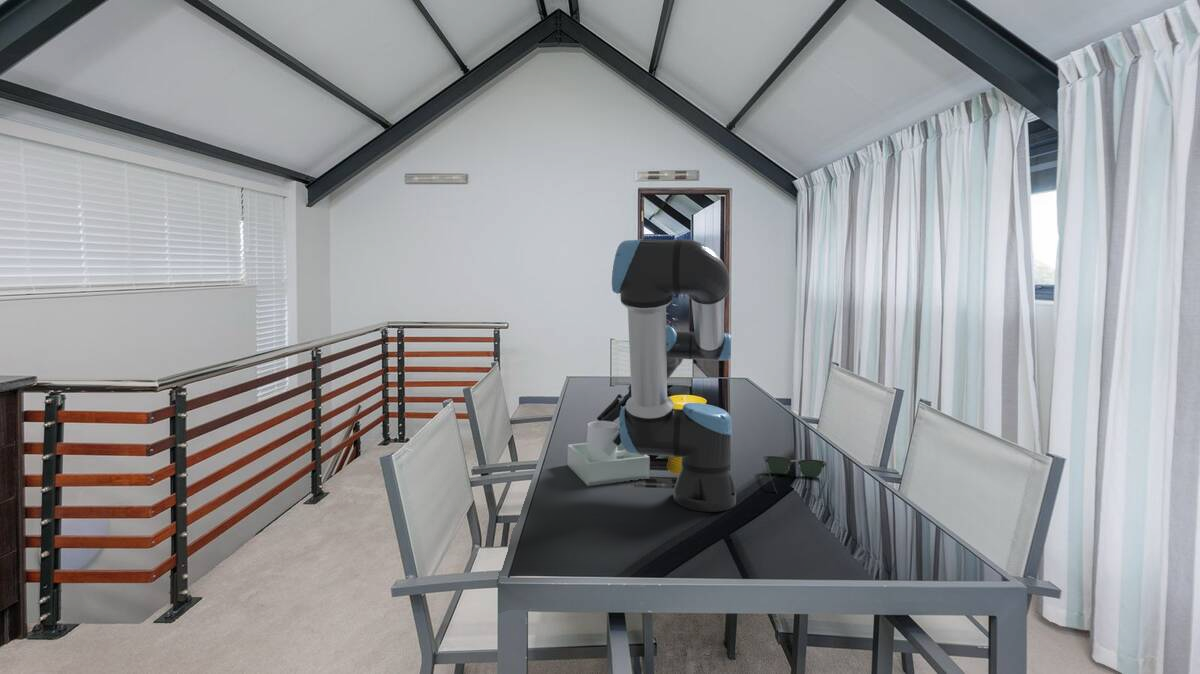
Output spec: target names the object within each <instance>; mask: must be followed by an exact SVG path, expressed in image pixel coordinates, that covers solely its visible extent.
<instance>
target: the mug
mask: <svg viewBox="0 0 1200 674" xmlns="http://www.w3.org/2000/svg"><path fill="white" fill-rule="evenodd" d="M618 427H619V426H618V423H616V422H615V421H613V422H610V421H598V420H595V421H591V422H588V423H587V438H588V448H587V456H588V461H589V462H599V461H608V460H617V456H623V455H625V454H626V453H627V452H628V451H626V450H625V449H624V450H622V451H617V448H616V449H615V450H614V451H613V453H612V454H611V455H610V456H609V455H608V454H607V453H606V452H605V451H604V450H603V448H604V447H605V446H606V444H607V443H608V442H609V440H610V439H611V438H612V437H613V435H614V434H615V433H616V431H619V430H618V429H619V428H618ZM619 432H620V431H619Z"/></svg>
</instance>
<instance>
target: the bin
mask: <svg viewBox="0 0 1200 674" xmlns="http://www.w3.org/2000/svg"><path fill="white" fill-rule="evenodd" d="M587 448H588V443H587V442H582V443H571V444H567V462H566V463H567V466H568V468H570V469H571V470H572V471H573V473H575V474H576V475H577V476H578V477H579V478H580V479H581V480H582V481H583V483H585V485H586V486H588V487H591V486H600V485H607V484H616V482H617V483H622V482H624V481H625V482H631V481H630V480H633V481H640V480H639V479H641V480H647V479H650V468H651V467H650V464H651V459H650V458H651V457H650V455H646V454H645V455H640V454H637V453H630V452H627V453H626V454H625V455H623V456H617V460H608V461H599V462H589V461H588V456H587ZM622 450H624V447H623V445H622V442H621V443H620V445H618V446H617V451H622Z"/></svg>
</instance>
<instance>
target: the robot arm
mask: <svg viewBox="0 0 1200 674" xmlns="http://www.w3.org/2000/svg"><path fill="white" fill-rule="evenodd" d="M615 252H616V253H615V256H614V260H613V264H612V272H611V273H612V274H611V290H612V292H613V293H615V294H617V295H618V294H620V303H621V305H623V306H624V307H625V308H626V309H627V322H628V324H627V325H628V345H629V365H630V366H629V367H630V370H629V371H630V384H629V385H628V388H627V389H628V393H627V394H625V395H624V396H623V395H622V394H620V393H619V394H617V395H616V397H615V399H614V400H613V401H612V402H611V403H610V404H609V405H608V406H606V408H605V409H604V410H603V411H602V412H601V413H600V414H599V415H598V416H597V418H596V419H597V420H596V421H610V422H615V421H616V420H617V419H618V418H619V419H618V423H619V426H618V427H619V428H618V430H619V431H620V432H619V431H616V433H615V434H614V435H613V437H612V438H611V439H610V440H609V442H608V443H607V444H606V446H605V447H604V448H603V450H604V451H605V452H606V453H607V454H608V455H609V456H610V455H611V454H612V453H613V451H614V450H615V449H616V448H617V446H618V445H620V443H621V442H622V445H623V447H624V449H625V450H626V451H628V452H630V453H637V454H640V455H645V454H646V455H648V456H661V457H673V458H675V457H676V458H681V468H680V471H679V473H678V476H677V479H676V482H675V485H674V487H673V500H674V502H675V503H676V504H677V505H678V506H681V507H683V508H686V509H688V510H692V511H698V512H706V513H713V512H714V513H716V512H724V511H728V510H730V509H732V508H734V507H735V506H736V505H737V504H736V503H737V492H736V487H735V485H734V482H733V477H732V474H731V441H732V440H731V438H732V434H733V430H732V417H731V415H730V413H729V412H727V410H726V409H723V408H721V407H719V406H715V405H711V404H707V403H701V402H687V403H684V405H683V406H682V408H681V409H680V408H674V405H675V404H674V401H673V399H671V397H669V396H668V380H669V378H670V377H672V375H673V374H674V372H675V371H676V370H677V368H678V367H679V366H680V365H681V364H682V363H683V361H684V360H696V361H697V360H701V361H715V362H718V361H729V360H730V358H731V356H732V355H731V354H732V353H731V352H732V334H730V333H728V332H725V303H726V302H725V298H726V297H727V295H728V294H729V291H730V274H729V272H728V269H727V267H726V264H725V263H724V261H723V260H722V259H721V258H720V256H719V255H718V254H717V253H716V252H714V251H713V250H712V248H710V247H709V246H707V245H705V244H704V243H701V242H699V241H695V240H692V239H642V238H638V239H631V240H630V239H627V240H623V241H621V242H620V244H619V245H618V247H617V249H616V251H615ZM674 295H688V297H689V299H690V300H691V306H692V307H691V309H692V318H693V330H694V331H681V330H680V331H679V330H678V331H676V330H675V329H674V328H673V327H672V326H670V325H667V307H668V306H669V305H670V304H671V303H672V302H673V300H674V297H673V296H674ZM585 443H588V437H587V438H586V440H585Z"/></svg>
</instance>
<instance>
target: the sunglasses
mask: <svg viewBox="0 0 1200 674" xmlns="http://www.w3.org/2000/svg"><path fill="white" fill-rule="evenodd" d="M763 459H764V462H765V463H764V464H765V466H766V469H767V470H766V471H767V472H768V475H769V477H770V478H769V479H770V480H771V483H772V486H773V488H774V493H776V494H778V491H777V489H776V487H775V483H774V481H773V479H772V476H771V474H779V475H785V474H787V473H788V471H790V468H791V466H790V465H791V463H792V462H796V463H798V464H799V468H798V470H799V472H800V473H801V475H802V476H803V477H808V478H809V477H810V478H817V477H819V476H820V475H821V474H822V470H823V468H825V480H824V483H823V487H822V488H821V490H820V493H819V495H818V497H817V498H818V499H819V498H820V497H821V495H822V493H823V490H824V488H825V485H826V482H827V478H828V473H827V472H828V469H827V467H828V466H827V461H824V460H820V459H811V458H810V459H806V458H805V459H802V460H801V459H800V460H797V459H792V460H791V459H789V458H786V457H784V456H778V455H777V456H776V455H768V456H767V455H765V456H763ZM770 472H771V473H770Z"/></svg>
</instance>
